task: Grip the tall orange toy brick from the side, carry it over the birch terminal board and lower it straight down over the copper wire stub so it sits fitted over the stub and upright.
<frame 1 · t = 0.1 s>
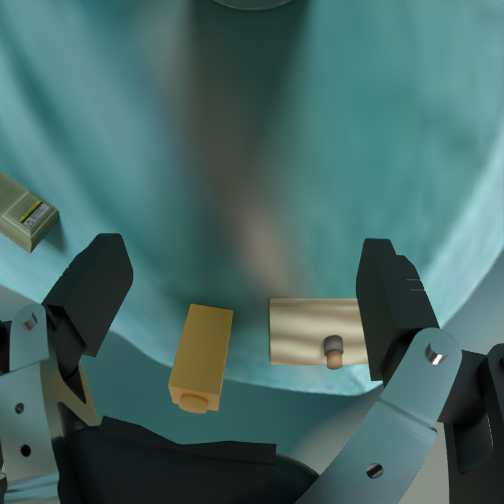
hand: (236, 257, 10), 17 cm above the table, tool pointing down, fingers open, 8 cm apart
terminal board: (332, 331, 40), on the table
tall orange toy brick: (211, 319, 41), on the table
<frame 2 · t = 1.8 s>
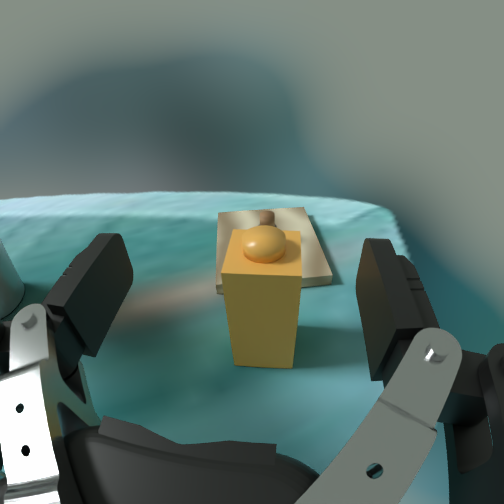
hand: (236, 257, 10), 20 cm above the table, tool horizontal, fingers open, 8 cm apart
terminal board: (267, 247, 44), on the table
tall orange toy brick: (265, 344, 30), on the table
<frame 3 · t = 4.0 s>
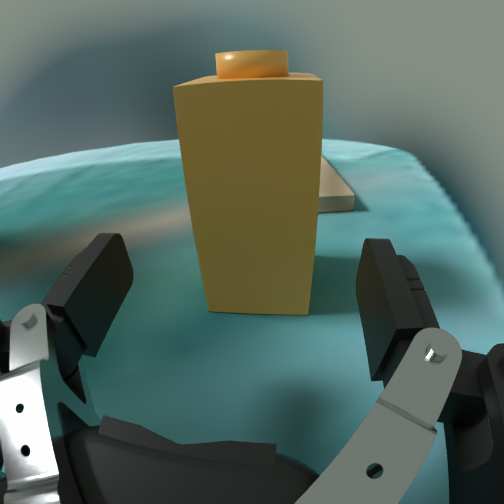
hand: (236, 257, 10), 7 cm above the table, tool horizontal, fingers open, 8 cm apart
terminal board: (264, 177, 33), on the table
tall orange toy brick: (261, 280, 19), on the table
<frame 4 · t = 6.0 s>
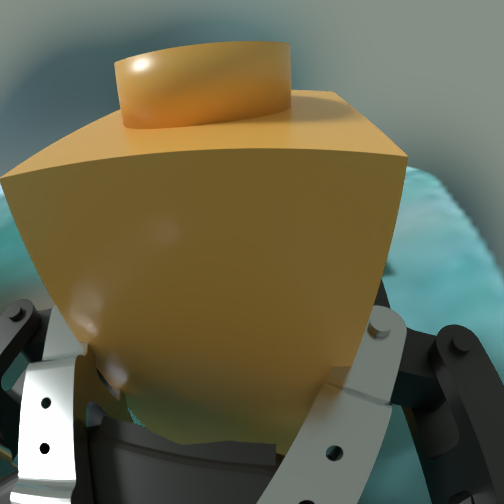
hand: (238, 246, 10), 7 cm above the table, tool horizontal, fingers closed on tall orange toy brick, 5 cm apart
tall orange toy brick: (244, 407, 12), on the table, touching gripper
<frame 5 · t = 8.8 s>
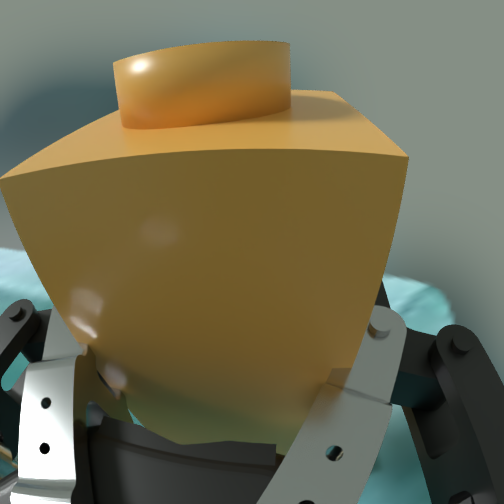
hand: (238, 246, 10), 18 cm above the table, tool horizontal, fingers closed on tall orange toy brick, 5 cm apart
tall orange toy brick: (244, 407, 12), point 11 cm above the table, touching gripper
when the fingers open (9 cm above the table, at t = 11.8 s): tall orange toy brick stays where it is, resting on terminal board.
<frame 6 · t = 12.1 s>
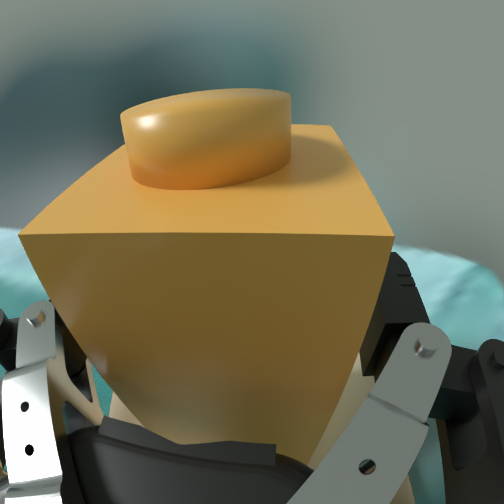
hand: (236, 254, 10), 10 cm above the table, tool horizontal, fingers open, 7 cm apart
terminal board: (246, 426, 14), on the table
tall orange toy brick: (245, 415, 13), point 1 cm above the table, touching terminal board
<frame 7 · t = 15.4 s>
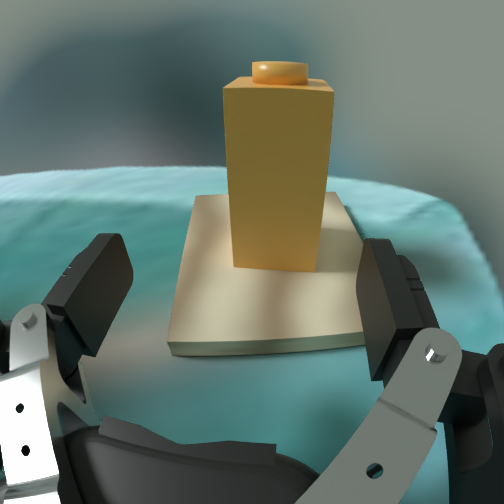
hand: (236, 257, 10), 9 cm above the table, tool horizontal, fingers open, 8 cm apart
terminal board: (275, 260, 24), on the table
tall orange toy brick: (276, 245, 23), point 1 cm above the table, touching terminal board
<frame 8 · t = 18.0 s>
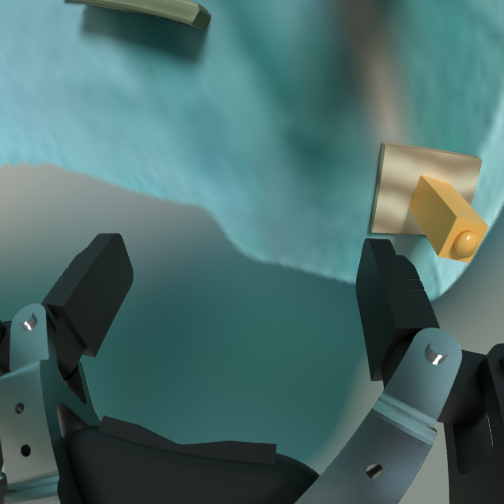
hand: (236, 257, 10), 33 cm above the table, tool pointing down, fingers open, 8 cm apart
terminal board: (426, 191, 41), on the table
tall orange toy brick: (429, 195, 40), point 1 cm above the table, touching terminal board
handheld radio: (130, 1, 28), on the table
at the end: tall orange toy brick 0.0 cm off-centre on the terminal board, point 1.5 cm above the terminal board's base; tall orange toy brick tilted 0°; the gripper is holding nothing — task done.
